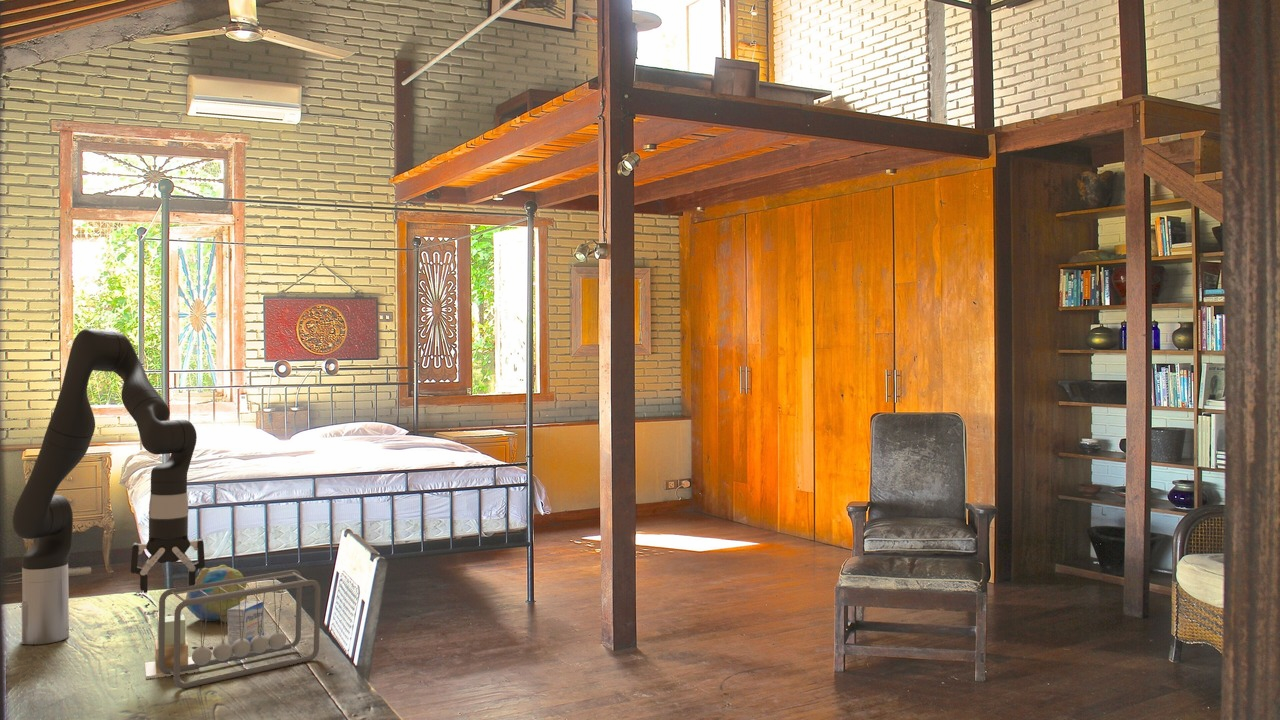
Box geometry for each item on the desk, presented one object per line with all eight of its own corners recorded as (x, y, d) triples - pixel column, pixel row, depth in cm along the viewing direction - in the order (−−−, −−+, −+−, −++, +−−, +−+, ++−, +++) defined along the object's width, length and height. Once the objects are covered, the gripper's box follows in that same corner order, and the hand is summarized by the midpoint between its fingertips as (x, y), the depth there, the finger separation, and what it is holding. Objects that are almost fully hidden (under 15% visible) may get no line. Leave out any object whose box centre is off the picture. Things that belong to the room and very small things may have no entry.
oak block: (156, 673, 209) (156, 649, 209) (155, 662, 216) (155, 639, 216) (188, 669, 211) (188, 645, 211) (186, 658, 219) (185, 635, 218)
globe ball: (185, 557, 251) (222, 566, 243) (238, 565, 264) (275, 574, 256) (168, 614, 248) (206, 625, 240) (223, 619, 261) (260, 630, 253)
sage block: (159, 647, 210) (158, 622, 210) (157, 640, 215) (157, 617, 214) (185, 643, 212) (185, 619, 212) (183, 637, 217) (183, 614, 217)
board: (145, 679, 207) (145, 676, 207) (144, 665, 216) (144, 662, 216) (199, 671, 211) (199, 669, 211) (196, 658, 220) (196, 656, 220)
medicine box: (244, 648, 228) (244, 609, 228) (227, 647, 229) (226, 608, 229) (264, 638, 236) (264, 601, 236) (247, 637, 237) (247, 600, 237)
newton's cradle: (174, 691, 199) (175, 603, 198) (157, 675, 207) (158, 589, 206) (319, 659, 220) (321, 578, 218) (299, 645, 227) (301, 567, 226)
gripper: (204, 509, 222) (203, 583, 222) (131, 513, 215) (130, 589, 216) (206, 515, 215) (205, 591, 215) (131, 519, 209) (130, 597, 209)
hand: (167, 590), depth 216 cm, fingers open, 8 cm apart
